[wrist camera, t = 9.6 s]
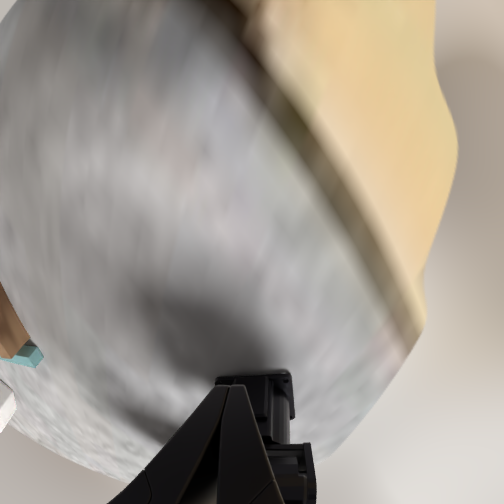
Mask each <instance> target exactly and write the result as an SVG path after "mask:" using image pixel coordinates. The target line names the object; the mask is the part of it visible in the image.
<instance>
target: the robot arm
mask: <svg viewBox="0 0 504 504" xmlns="http://www.w3.org/2000/svg"><path fill="white" fill-rule="evenodd" d="M284 379H287V380H284ZM221 382H222V383H221ZM294 418H295V408H294V396H293V385H292V376H291V375H290V374H275V375H259V376H235V377H217V378H216V380H215V387H214V388H213V389H212V390H211V391H210V393H209V394H208V395H207V396H206V397H205V399H204V400H203V401H202V402H201V403H200V405H199V406H198V407H197V408H196V409H195V411H194V412H193V413H192V414H191V415H190V417H189V418H188V419H187V420H186V421H185V423H184V424H183V425H182V426H181V427H180V428H179V430H178V431H177V432H176V433H175V434H174V435H173V437H172V438H171V439H170V440H169V441H168V442H167V443H166V445H165V446H164V447H163V448H162V449H161V450H160V451H159V453H158V454H157V455H156V456H155V457H154V458H153V459H152V460H151V461H150V463H149V464H148V465H147V466H146V467H145V468H144V469H145V470H142V471H141V472H140V473H139V474H138V476H137V477H136V478H135V479H134V480H133V481H132V482H131V483H130V484H129V485H128V486H127V487H126V488H125V489H124V490H123V491H122V492H120V493H119V494H118V495H117V496H116V497H115V498H113V499H112V500H111V501H110V502H109V503H107V504H316V493H317V491H316V490H317V489H316V476H315V469H314V463H313V456H312V450H311V444H310V443H303V444H290V420H292V419H294Z"/></svg>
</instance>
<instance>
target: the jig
mask: <svg viewBox="0 0 504 504" xmlns="http://www.w3.org/2000/svg"><path fill="white" fill-rule="evenodd" d="M42 359H43V355H42V354H41V352H40V350H39V349H38V347H34V346H27V345H23V346H22V347H21V349H20V350H19V351H18V352H17V353H16V354H15V356H14V357H13V358H12V359H6V358H1V356H0V360H4V361H8V362H12V363H16V364H20V365H24V366H28V367H32V368H36V366H37V365H38V364H39V362H40V361H41V360H42Z"/></svg>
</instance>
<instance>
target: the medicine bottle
mask: <svg viewBox="0 0 504 504" xmlns="http://www.w3.org/2000/svg"><path fill="white" fill-rule="evenodd" d="M16 409H17V405H16V401H15V397H14V392H13V390H12V389H10V388H9V387H8V386H7V385H6V384H4V383H3V382H2V381H1V380H0V433H1V432H2V430H3V429H4V427H5V426H6V424H7V423H8V421H9V420H10V418H11V417H12V415H13V414H14V412H15V411H16Z"/></svg>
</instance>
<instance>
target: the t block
mask: <svg viewBox="0 0 504 504" xmlns="http://www.w3.org/2000/svg"><path fill="white" fill-rule="evenodd" d="M29 338H30V336H29V335H28V333H27V331H26V330H25V328H24V326H23V324H22V323H21V321H20V319H19V317H18V316H17V314H16V312H15V310H14V308H13V306H12V304H11V302H10V301H9V299H8V297H7V295H6V293H5V291H4V288H3V286H2V284H1V282H0V356H1V358H6V359H12V358H13V357H14V356H15V354H16V353H17V352H18V351H19V350H20V349H21V347H22V346H23V345H24V344H25V343H26V342H27V341H28V340H29Z"/></svg>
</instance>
